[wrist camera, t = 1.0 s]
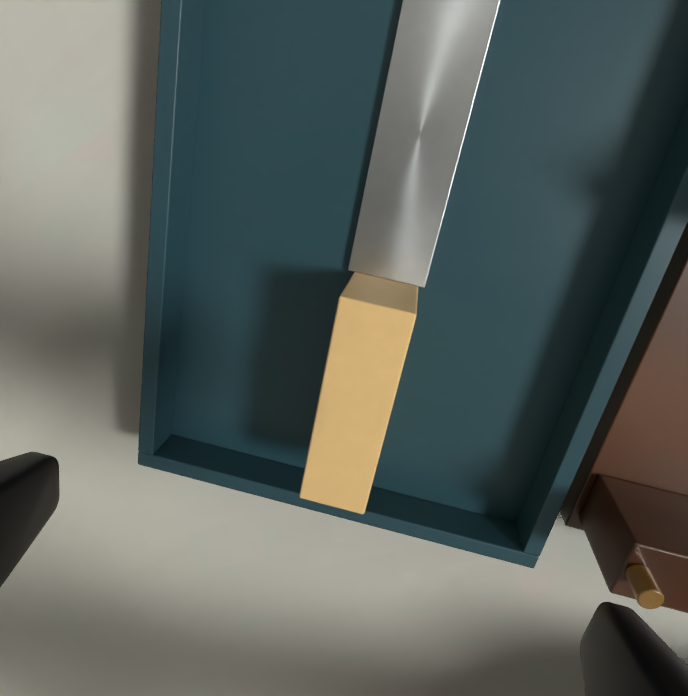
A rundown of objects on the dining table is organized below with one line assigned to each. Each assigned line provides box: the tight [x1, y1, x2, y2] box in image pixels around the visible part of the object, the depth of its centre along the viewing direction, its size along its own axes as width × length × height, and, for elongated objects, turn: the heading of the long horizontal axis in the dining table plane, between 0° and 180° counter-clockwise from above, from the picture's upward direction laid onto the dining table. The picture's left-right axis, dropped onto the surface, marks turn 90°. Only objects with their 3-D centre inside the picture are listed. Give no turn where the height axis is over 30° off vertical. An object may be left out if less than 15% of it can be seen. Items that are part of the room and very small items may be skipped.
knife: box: [299, 0, 501, 514], centre depth 15 cm, size 16×3×3 cm, turn 169°
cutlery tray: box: [138, 0, 688, 568], centre depth 16 cm, size 20×15×2 cm
